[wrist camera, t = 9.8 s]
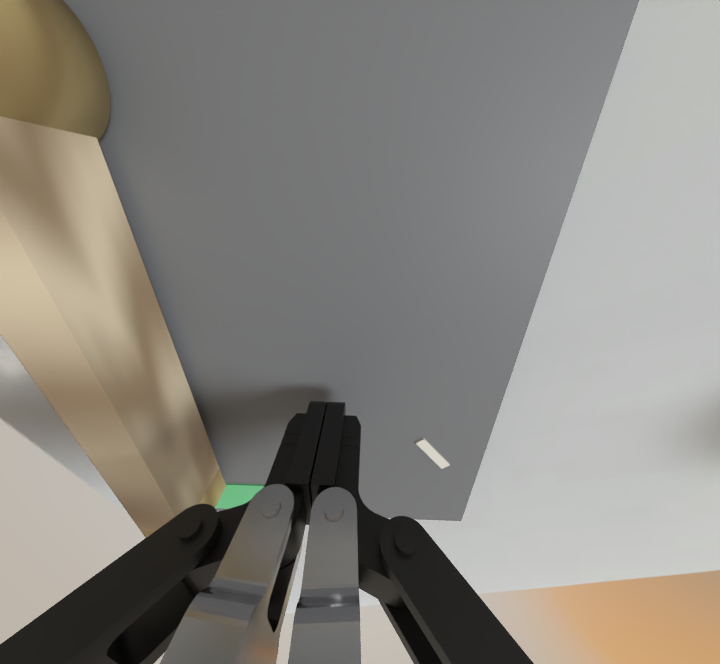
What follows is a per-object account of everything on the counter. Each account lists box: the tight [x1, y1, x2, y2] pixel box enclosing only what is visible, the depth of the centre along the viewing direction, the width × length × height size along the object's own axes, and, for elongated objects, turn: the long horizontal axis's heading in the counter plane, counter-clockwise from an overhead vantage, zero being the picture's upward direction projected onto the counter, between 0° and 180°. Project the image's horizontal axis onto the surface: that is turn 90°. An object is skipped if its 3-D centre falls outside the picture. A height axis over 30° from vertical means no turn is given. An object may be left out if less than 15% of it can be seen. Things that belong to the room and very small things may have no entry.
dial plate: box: [63, 0, 639, 521], centre depth 12 cm, size 24×20×2 cm
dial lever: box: [0, 0, 226, 538], centre depth 9 cm, size 19×4×3 cm, turn 179°
